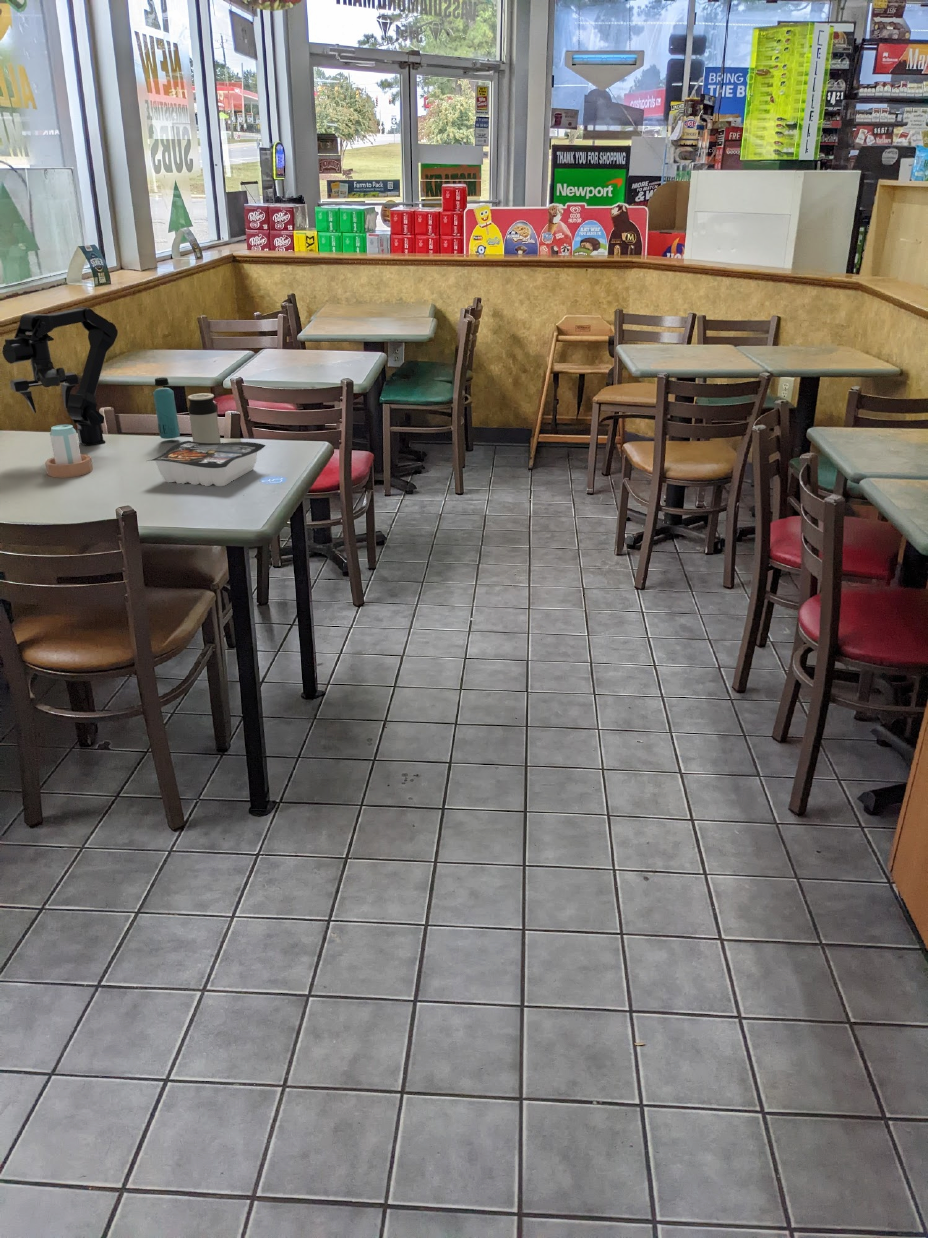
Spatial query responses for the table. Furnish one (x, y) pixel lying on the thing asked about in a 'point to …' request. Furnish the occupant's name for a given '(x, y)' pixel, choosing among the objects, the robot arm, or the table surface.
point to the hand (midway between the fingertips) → (50, 410)
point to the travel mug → (203, 418)
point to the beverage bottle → (166, 410)
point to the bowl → (69, 467)
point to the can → (65, 444)
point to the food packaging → (207, 462)
